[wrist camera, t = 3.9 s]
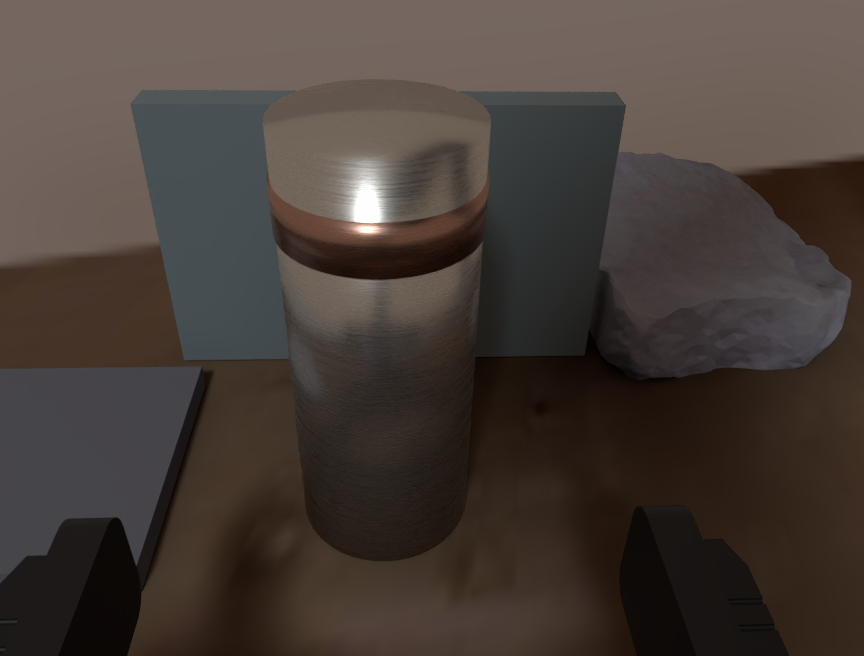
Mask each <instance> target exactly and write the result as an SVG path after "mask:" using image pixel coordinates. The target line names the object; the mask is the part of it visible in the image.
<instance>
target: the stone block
mask: <svg viewBox="0 0 864 656" xmlns="http://www.w3.org/2000/svg"><path fill="white" fill-rule="evenodd" d="M850 292H851V280H850V279H849V278H848V277H847V276H845V275H844V274H842V273H841V272H839V271H838V270H836V269H835V268H834V267H833V266H832V265H831V263H830V262H829V257H828V256H827V255H826V254H825V253H824V252H823V251H822V249H820V248H818V247H816V246H813V245H805V243H804V242H803V241H802V240H801V239H800V238H799V235H798V234H797V233H796V232H795V231H794V230H793V229H792V228H790V227H789V226H788V225H787V224H786V223H785V222H783V221H781V220H779V219H778V218H777V217H776V216H775V214H774V213H773V208H772V207H771V206H770V205H769V204H768V203H767V202H766V201H765V200H764V199H763V198H762V197H761V196H760V195H759V194H758V193H757V192H756V191H754V190H753V189H752V188H751V187H750V186H749V185H747V184H746V183H744V182H743V181H742V180H741V179H740V178H739V177H737V176H736V175H734V174H732V173H730V172H728V171H725V170H723V169H721V168H719V167H717V166H715V165H713V164H710V163H699V162H695V161H690V160H682V159H675V158H673V157H670V156H667V155H665V154H662V153H656V154H634V153H631V152H620V153H618V156H617V162H616V168H615V174H614V180H613V186H612V192H611V198H610V204H609V211H608V217H607V223H606V229H605V235H604V241H603V247H602V253H601V259H600V265H599V271H598V277H597V283H596V289H595V295H594V301H593V307H592V313H591V319H590V325H589V331H590V333H591V335H592V337H593V339H594V342H595V344H596V347H597V349H598V350H599V352H600V354H601V356H602V357H603V358H604V359H605V360H606V361H607V362H608V363H610V364H613V365H615V366H616V367H618V368H620V369H621V370H622V371H623V372H624V373H625V374H626V375H627V376H629V377H631V378H634V379H636V380H645V379H647V378H659V377H668V378H669V377H676V378H681V377H684V376H687V375H692V374H700V373H705V372H709V371H712V370H713V369H717V368H729V367H731V368H750V369H757V370H777V369H796V368H800V367H804V366H806V365H807V364H808V363H809V362H810V361H811V360H812V359H813V358H814V357H815V356H817V355H818V354H819V353H820V352H822V351H823V350H824V349H825V348H827V347H828V346H829V345H830V344H831V343H832V342H833V341H834V340H835V339H836V337H837V335H838V334H839V332H840V331H841V329H842V328H843V323H844V319H845V315H846V311H847V304H848V300H849V298H850V295H851V293H850Z"/></svg>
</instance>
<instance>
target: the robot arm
mask: <svg viewBox="0 0 864 656" xmlns="http://www.w3.org/2000/svg"><path fill="white" fill-rule="evenodd" d="M620 593H621V599H622V604H623V608H624V611H625V615H626V618H627V622H628V625H629V629H630V632H631V636H632V639H633V643H634V646H635V650H636V653H637V656H789V654H788V652H787V650H786V648H785V646H784V643H783V641H782V639H781V637H780V635H779V633H778V630H777V631H776V630H775V628H774V622H773V620H772V617H771V615H770V613H769V611H768V609H767V607H766V604H763V602H762V596H761V594H760V591H759V589H758V587H757V585H756V583H755V581H754V578H753V576H752V574H751V572H750V570H749V568H748V566H747V565H746V564H745V563H744V562H743V561H742V559H741V558H740V557H739V556H738V555H737V554H736V553H735V552H734V551H733V550H732V549H731V548H730V547H729V546H728V545H727V544H726V543H725V542H724V540H723V539H704V540H702V537H701V535H700V532H699V530H698V528H697V525H696V523H695V521H694V518H693V516H692V514H691V512H690V510H689V509H688V508H687V507H686V506H684V505H668V506H638V507H636V509H635V510H634V513H633V517H632V521H631V525H630V529H629V533H628V537H627V541H626V545H625V549H624V553H623V557H622V561H621V566H620ZM140 606H141V582H140V577H139V573H138V570H137V567H136V564H135V561H134V558H133V555H132V551H131V548H130V545H129V542H128V539H127V536H126V533H125V530H124V526H123V524H122V522H121V520H120V519H119V518H117V517H108V518H69V519H66V520H64V521H63V522H62V524H61V525H60V527H59V529H58V530H57V533H56V535H55V537H54V539H53V542H52V544H51V546H50V548H49V551H48V553H47V555H37V556H26V557H25V558H24V559H23V560H22V561H21V562H20V563H19V564H18V565H17V566H16V567H15V569H14V570H13V571H12V572H11V573H10V574H9V575H8V576H7V577H6V578H5V579H4V580H3V581H2V582H1V583H0V656H127V654H128V651H129V648H130V644H131V641H132V638H133V634H134V631H135V628H136V624H137V621H138V617H139V612H140Z"/></svg>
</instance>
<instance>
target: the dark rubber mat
mask: <svg viewBox="0 0 864 656" xmlns="http://www.w3.org/2000/svg"><path fill="white" fill-rule="evenodd" d="M205 386H206V385H205V380H204V375H203V370H202V367H123V368H41V369H0V583H1V582H2V581H3V580H4V579H5V578H6V577H7V576H8V575H9V574H10V573H11V572H12V571H13V570H14V569H15V567H16V566H17V565H18V564H19V563H20V562H21V561H22V560H23V559H24V558H25V557H26V556H37V555H47V553H48V551H49V548H50V546H51V544H52V542H53V539H54V537H55V535H56V533H57V530H58V529H59V527H60V525H61V524H62V522H63V521H64V520H66V519H69V518H108V517H117V518H119V519H120V520H121V522H122V524H123V526H124V530H125V533H126V536H127V539H128V542H129V545H130V548H131V551H132V555H133V558H134V561H135V564H136V567H137V570H138V573H139V577H140V582H141V591H142V588H143V585H144V582H145V579H146V576H147V572H148V569H149V566H150V563H151V559H152V556H153V553H154V550H155V547H156V543H157V540H158V537H159V534H160V530H161V527H162V524H163V521H164V518H165V514H166V511H167V508H168V505H169V502H170V498H171V495H172V492H173V489H174V485H175V482H176V479H177V476H178V473H179V469H180V466H181V463H182V460H183V457H184V453H185V450H186V447H187V444H188V440H189V437H190V434H191V431H192V428H193V424H194V421H195V418H196V415H197V412H198V408H199V405H200V402H201V399H202V395H203V392H204V389H205Z"/></svg>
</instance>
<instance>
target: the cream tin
mask: <svg viewBox="0 0 864 656" xmlns="http://www.w3.org/2000/svg"><path fill="white" fill-rule="evenodd" d="M490 129H491V117H490V114H489V112H488V110H487V109H486V108H485V107H484V106H483V105H482V104H481V103H479V102H478V101H477V100H475V99H473V98H471V97H470V96H467V95H465V94H463V93H460V92H457V91H455V90H452V89H448V88H445V87H441V86H437V85H431V84H426V83H419V82H413V81H403V80H383V79H377V80H376V79H375V80H374V79H373V80H372V79H371V80H351V81H341V82H334V83H327V84H322V85H317V86H313V87H309V88H306V89H302V90H299V91H296V92H293V93H291V94H289V95H286V96H284V97H283V98H281V99H279V100H277V101H276V102H274V103H273V104H272V105H271V106H270V107H269V108H268V109H267V110H266V112H265V113H264V115H263V130H264V139H265V148H266V157H267V166H268V171H267V177H266V179H267V188H268V197H269V206H270V215H271V223H272V232H273V237H274V240H275V242H276V246H277V255H278V264H279V273H280V282H281V291H282V300H283V309H284V318H285V327H286V336H287V345H288V354H289V363H290V372H291V381H292V390H293V399H294V408H295V417H296V426H297V435H298V444H299V453H300V462H301V471H302V480H303V489H304V497H305V506H306V513H307V516H308V519H309V521H310V523H311V525H312V527H313V529H314V530H315V531H316V533H317V534H318V535H319V536H320V537H321V538H322V539H323V540H324V541H325V542H326V543H328V544H329V545H330V546H332V547H333V548H335V549H337V550H339V551H340V552H342V553H345V554H347V555H350V556H353V557H356V558H360V559H365V560H372V561H393V560H401V559H406V558H410V557H413V556H416V555H419V554H422V553H424V552H426V551H428V550H430V549H432V548H434V547H435V546H437V545H438V544H440V543H441V542H442V541H444V540H445V539H446V538H447V537H448V536H449V535H450V534H451V533H452V532H453V530H454V529H455V528H456V526H457V525H458V523H459V521H460V519H461V517H462V514H463V511H464V507H465V500H466V485H467V470H468V455H469V441H470V426H471V411H472V396H473V381H474V366H475V351H476V337H477V322H478V307H479V292H480V277H481V262H482V247H483V239H484V237H485V232H486V223H487V208H488V194H489V180H490V177H489V171H488V158H489V143H490Z"/></svg>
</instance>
